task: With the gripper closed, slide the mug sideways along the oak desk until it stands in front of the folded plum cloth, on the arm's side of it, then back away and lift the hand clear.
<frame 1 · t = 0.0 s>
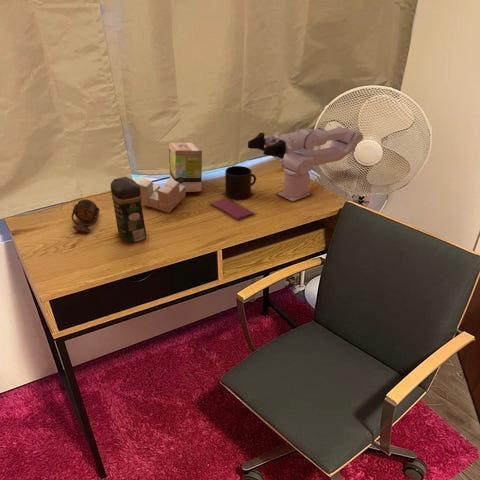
hand: (256, 148, 154), 22 cm above the table, tool horizontal, fingers open, 7 cm apart
cloth: (232, 209, 167), on the table
coffee jar: (132, 237, 151), on the table
tea box: (185, 187, 180), point 1 cm above the table, touching puzzle cube
dark brown rounded piece: (84, 225, 157), on the table
mug: (241, 194, 178), on the table
puzzle cube: (162, 199, 170), point 1 cm above the table, touching tea box
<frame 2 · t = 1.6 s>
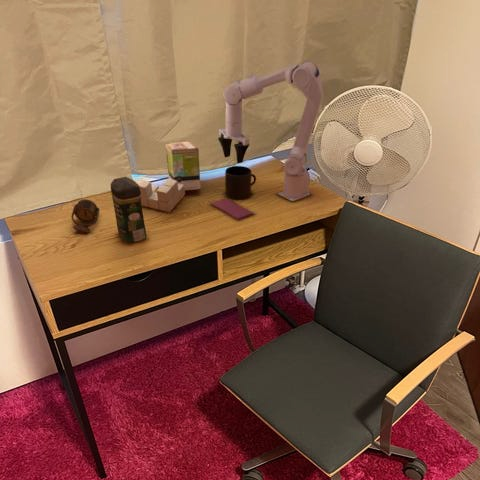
hand: (233, 159, 176), 10 cm above the table, tool pointing down, fingers open, 7 cm apart
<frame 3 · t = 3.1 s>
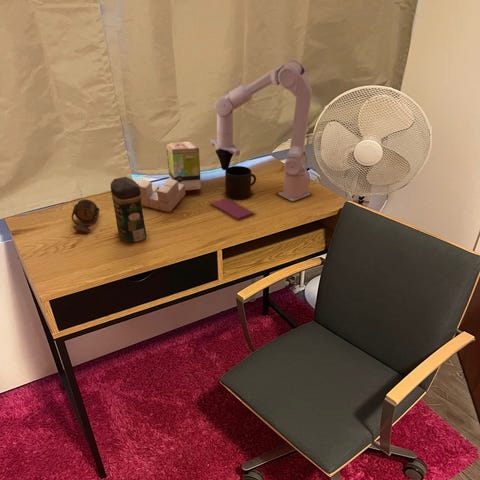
hand: (225, 169, 179), 6 cm above the table, tool pointing down, fingers closed
nothing on the table moved.
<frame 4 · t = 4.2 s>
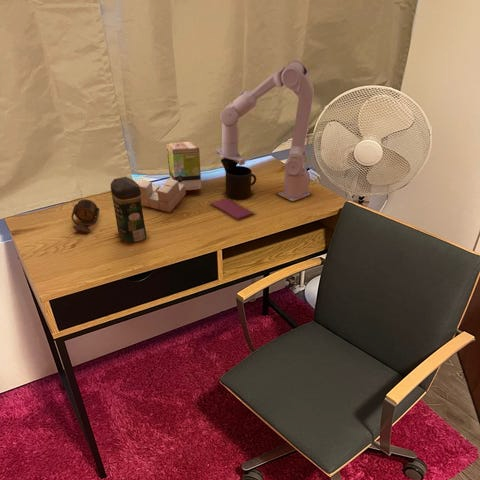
hand: (229, 177, 179), 4 cm above the table, tool pointing down, fingers closed
tea box: (185, 186, 179), point 1 cm above the table, touching puzzle cube
mug: (241, 194, 177), on the table, touching gripper
everything else where it was.
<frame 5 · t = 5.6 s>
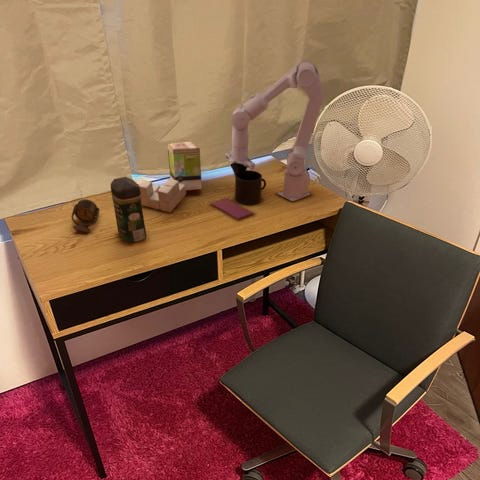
hand: (239, 182, 175), 4 cm above the table, tool pointing down, fingers closed
mug: (250, 199, 174), on the table, touching gripper
everything else where it was.
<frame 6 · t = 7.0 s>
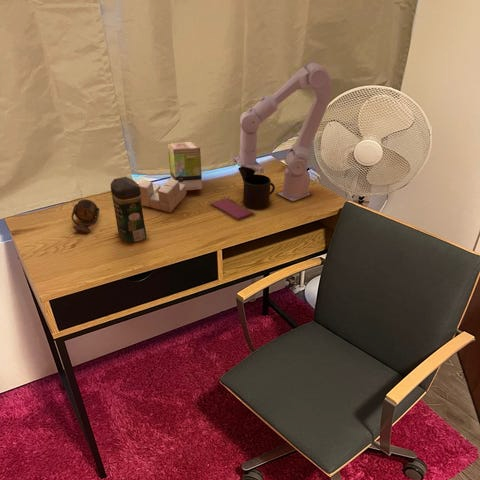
hand: (247, 186, 173), 4 cm above the table, tool pointing down, fingers closed
tea box: (186, 186, 179), point 1 cm above the table, touching puzzle cube
mug: (259, 203, 172), on the table, touching gripper
everything else where it was.
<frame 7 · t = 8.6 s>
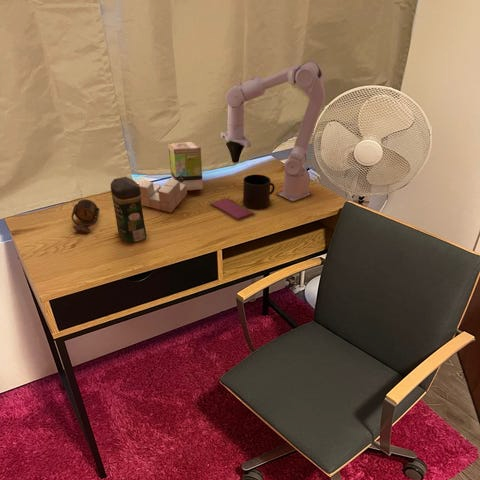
hand: (235, 162, 175), 10 cm above the table, tool pointing down, fingers closed
mug: (259, 203, 172), on the table
puzzle cube: (164, 199, 170), point 1 cm above the table, touching tea box
everything else where it was.
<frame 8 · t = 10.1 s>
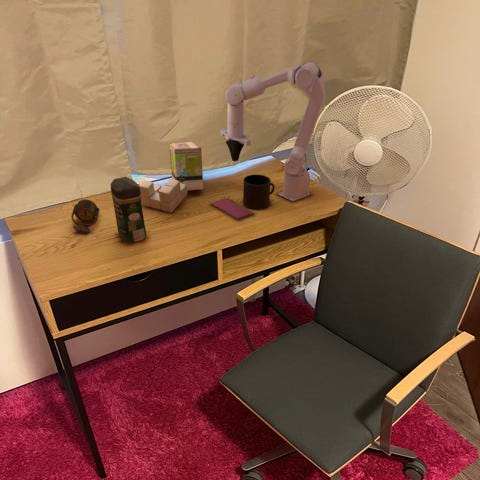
hand: (235, 160, 175), 10 cm above the table, tool pointing down, fingers closed
tea box: (187, 186, 179), point 1 cm above the table, touching puzzle cube
everything else where it was.
at the end: mug inside the target area on the table beside the cloth (2.6 cm from its centre), on the table; mug tilted 0°; mug moved 10.1 cm from its start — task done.
